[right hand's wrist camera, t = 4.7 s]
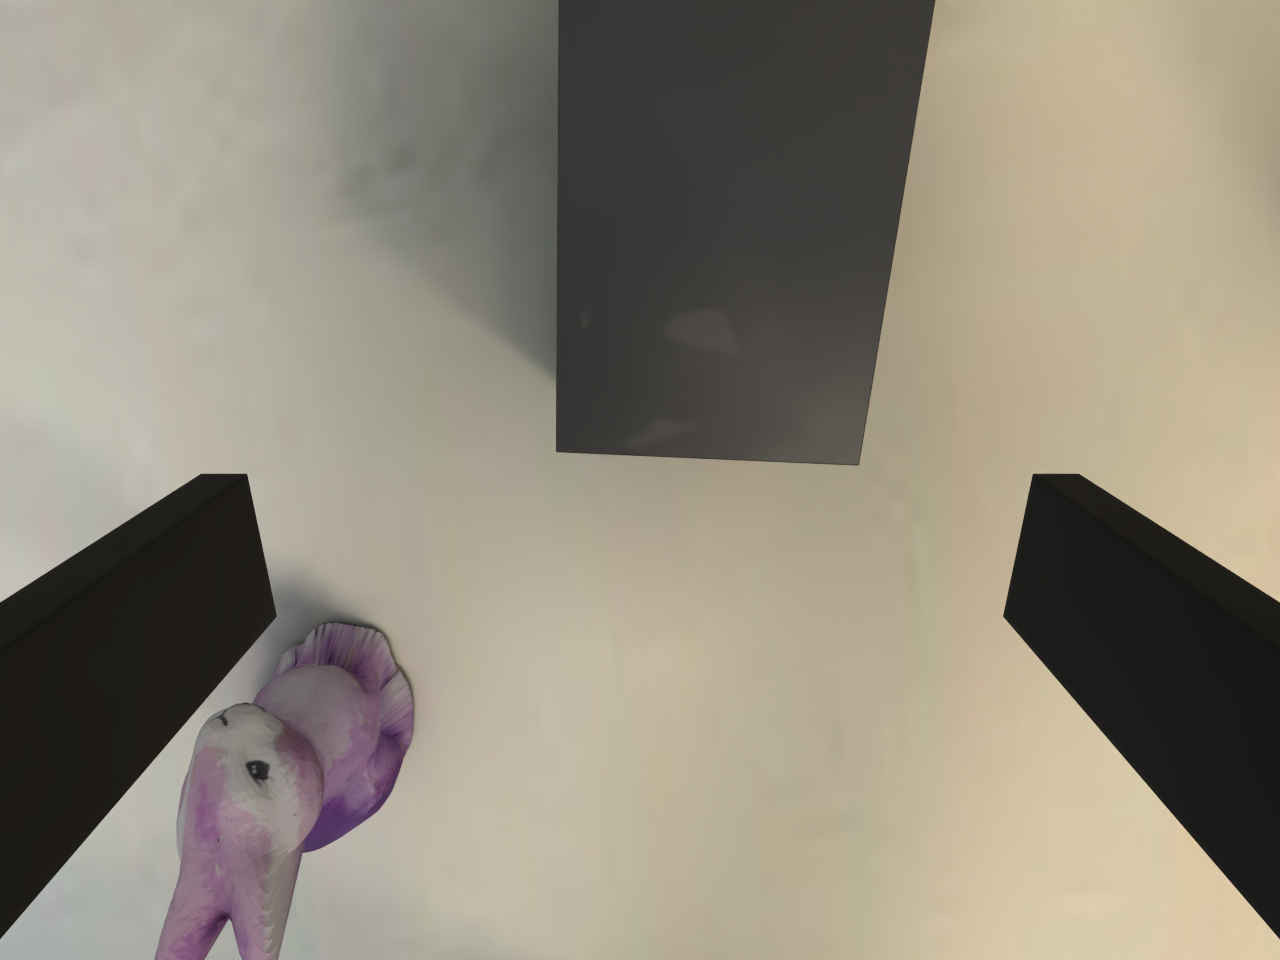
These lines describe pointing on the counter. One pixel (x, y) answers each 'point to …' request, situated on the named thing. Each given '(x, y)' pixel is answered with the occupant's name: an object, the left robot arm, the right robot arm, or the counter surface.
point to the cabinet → (728, 221)
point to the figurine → (284, 787)
